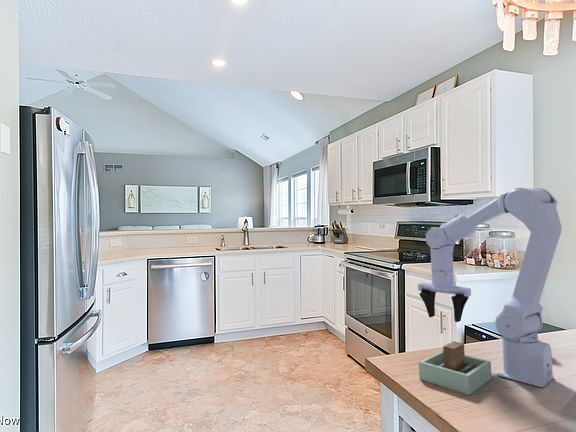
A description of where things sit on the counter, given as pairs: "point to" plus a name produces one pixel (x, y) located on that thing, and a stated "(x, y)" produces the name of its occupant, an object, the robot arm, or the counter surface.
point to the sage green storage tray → (455, 373)
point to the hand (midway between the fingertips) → (444, 318)
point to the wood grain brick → (454, 356)
